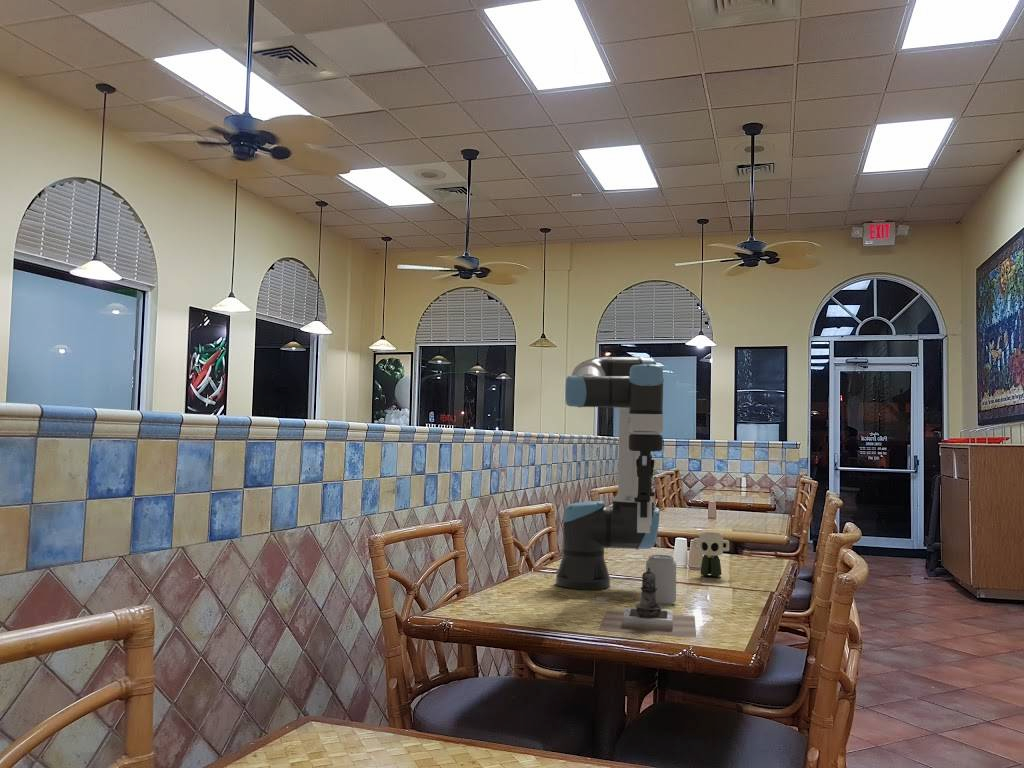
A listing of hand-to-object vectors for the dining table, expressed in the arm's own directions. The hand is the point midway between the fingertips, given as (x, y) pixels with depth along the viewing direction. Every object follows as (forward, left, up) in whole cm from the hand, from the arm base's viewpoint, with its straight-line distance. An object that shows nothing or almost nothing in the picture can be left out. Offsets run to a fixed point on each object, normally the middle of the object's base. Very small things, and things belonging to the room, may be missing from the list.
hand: (644, 528), depth 178 cm
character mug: (-72, +17, -22) cm, 77 cm away
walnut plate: (+2, +1, -21) cm, 21 cm away
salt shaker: (+2, +1, -20) cm, 20 cm away
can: (-26, +3, -22) cm, 34 cm away
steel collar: (+2, +1, -20) cm, 20 cm away
